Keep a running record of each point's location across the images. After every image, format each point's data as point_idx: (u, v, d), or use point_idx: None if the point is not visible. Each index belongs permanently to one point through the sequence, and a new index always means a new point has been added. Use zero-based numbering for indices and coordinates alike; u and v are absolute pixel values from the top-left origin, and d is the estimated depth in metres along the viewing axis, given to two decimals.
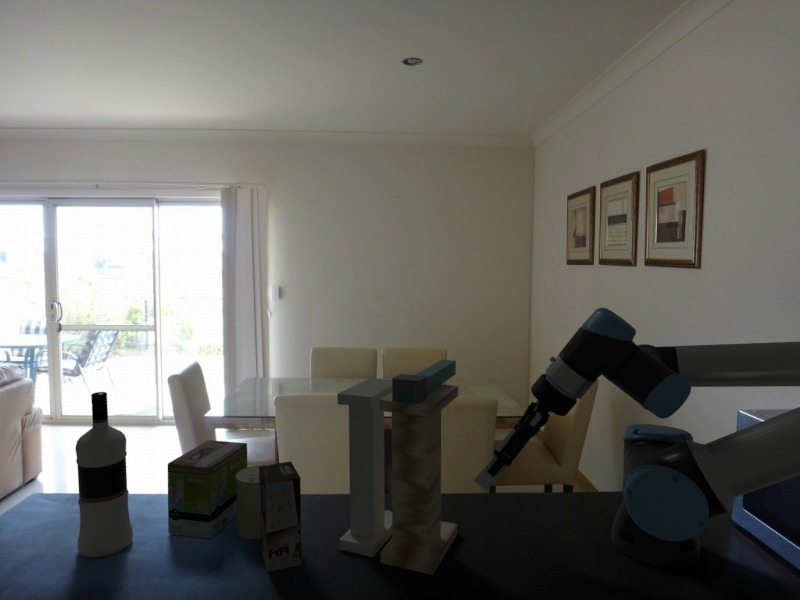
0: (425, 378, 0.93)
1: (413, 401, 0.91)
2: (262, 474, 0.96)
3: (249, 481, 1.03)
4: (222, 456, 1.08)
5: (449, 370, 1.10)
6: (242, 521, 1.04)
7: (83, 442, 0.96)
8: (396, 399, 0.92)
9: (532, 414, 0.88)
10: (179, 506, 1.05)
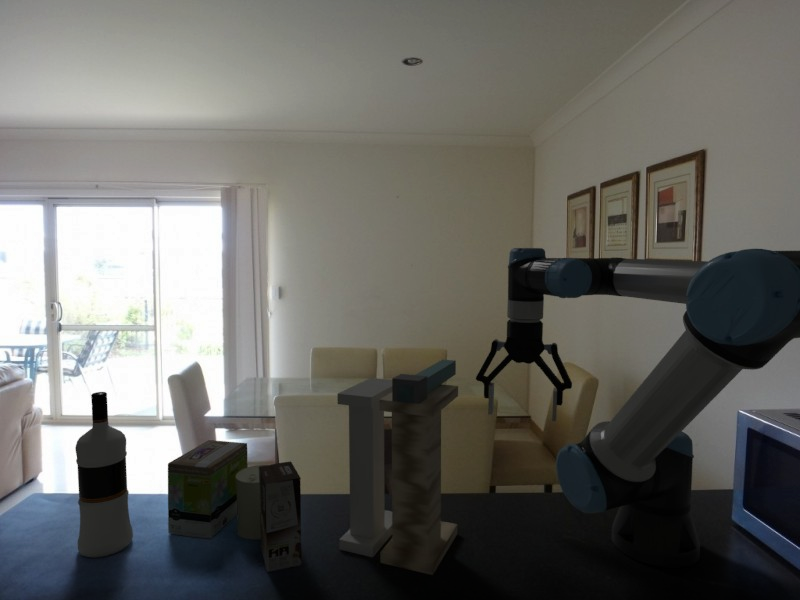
0: (425, 378, 0.93)
1: (413, 401, 0.91)
2: (262, 474, 0.96)
3: (249, 481, 1.03)
4: (222, 456, 1.08)
5: (449, 370, 1.10)
6: (242, 521, 1.04)
7: (83, 442, 0.96)
8: (396, 399, 0.92)
9: None
10: (179, 506, 1.05)
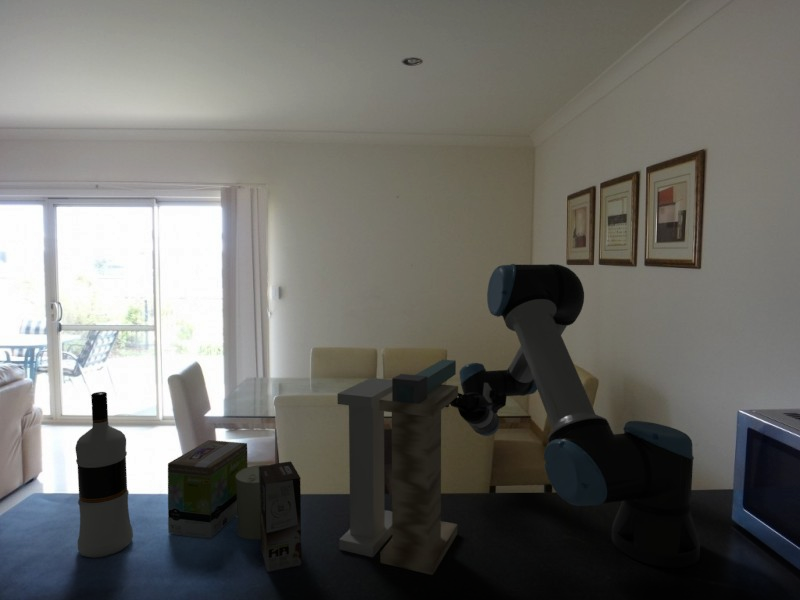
0: (425, 378, 0.93)
1: (413, 401, 0.91)
2: (262, 474, 0.96)
3: (249, 481, 1.03)
4: (222, 456, 1.08)
5: (449, 370, 1.10)
6: (242, 521, 1.04)
7: (83, 442, 0.96)
8: (396, 399, 0.92)
9: None
10: (179, 506, 1.05)
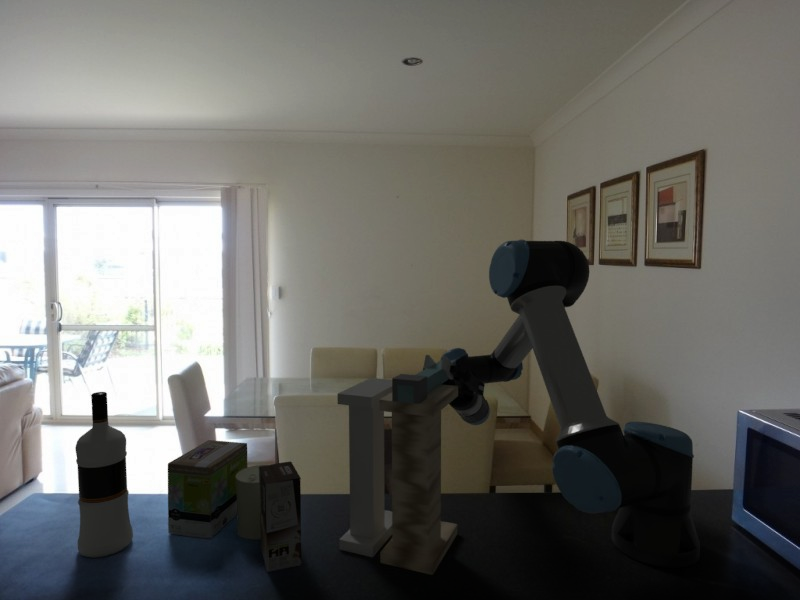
0: (425, 378, 0.93)
1: (413, 401, 0.91)
2: (262, 474, 0.96)
3: (249, 481, 1.03)
4: (222, 456, 1.08)
5: None
6: (242, 521, 1.04)
7: (83, 442, 0.96)
8: (396, 399, 0.92)
9: None
10: (179, 506, 1.05)
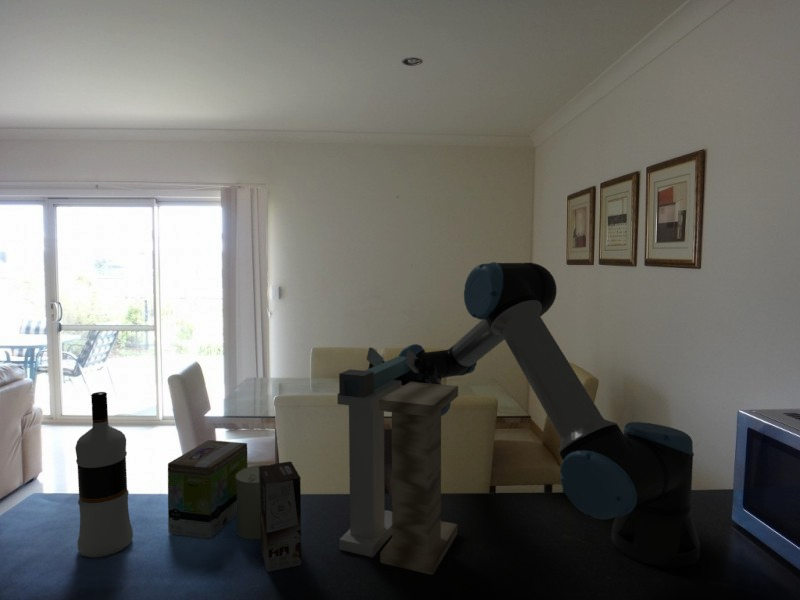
0: (371, 373, 0.97)
1: (358, 395, 0.95)
2: (262, 474, 0.96)
3: (249, 481, 1.03)
4: (222, 456, 1.08)
5: (402, 366, 1.14)
6: (242, 521, 1.04)
7: (83, 442, 0.96)
8: (343, 393, 0.96)
9: None
10: (179, 506, 1.05)
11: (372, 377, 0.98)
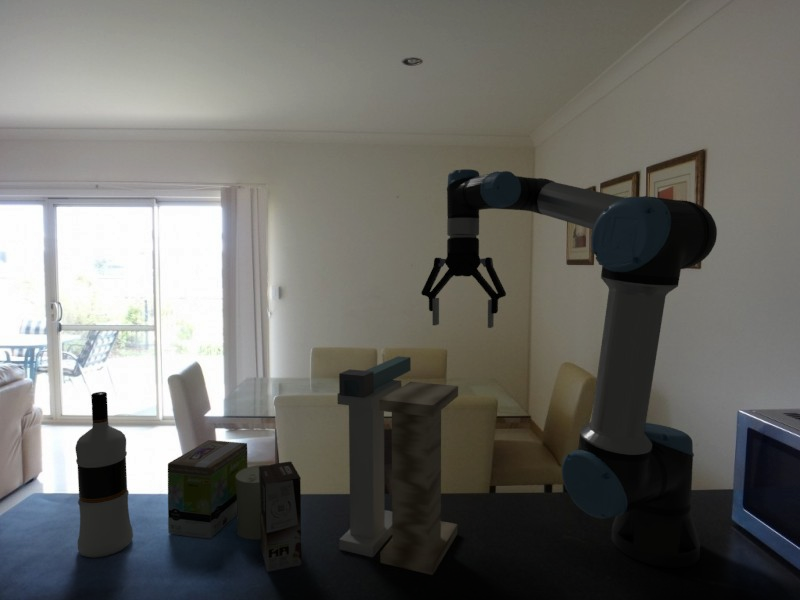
0: (371, 373, 0.97)
1: (358, 395, 0.95)
2: (262, 474, 0.96)
3: (249, 481, 1.03)
4: (222, 456, 1.08)
5: (402, 366, 1.14)
6: (242, 521, 1.04)
7: (83, 442, 0.96)
8: (343, 393, 0.96)
9: None
10: (179, 506, 1.05)
11: (372, 377, 0.98)
